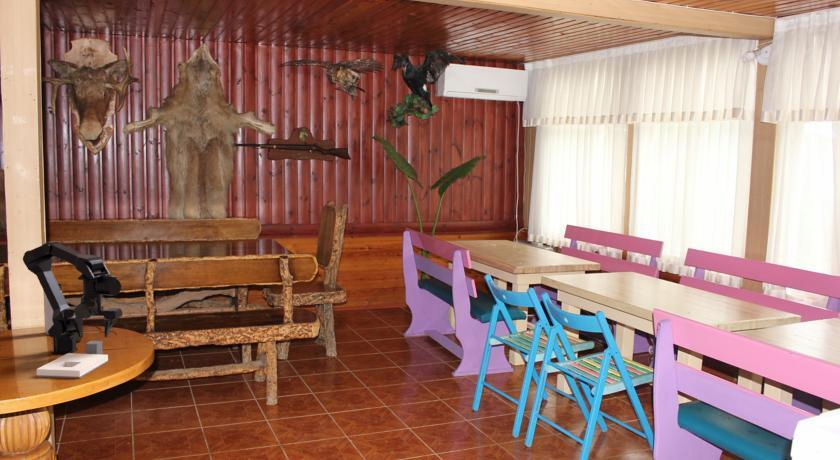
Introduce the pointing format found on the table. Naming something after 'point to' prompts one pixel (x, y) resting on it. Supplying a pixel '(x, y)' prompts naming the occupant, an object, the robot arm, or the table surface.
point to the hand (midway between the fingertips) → (93, 337)
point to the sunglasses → (87, 332)
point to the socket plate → (72, 365)
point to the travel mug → (48, 313)
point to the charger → (94, 347)
